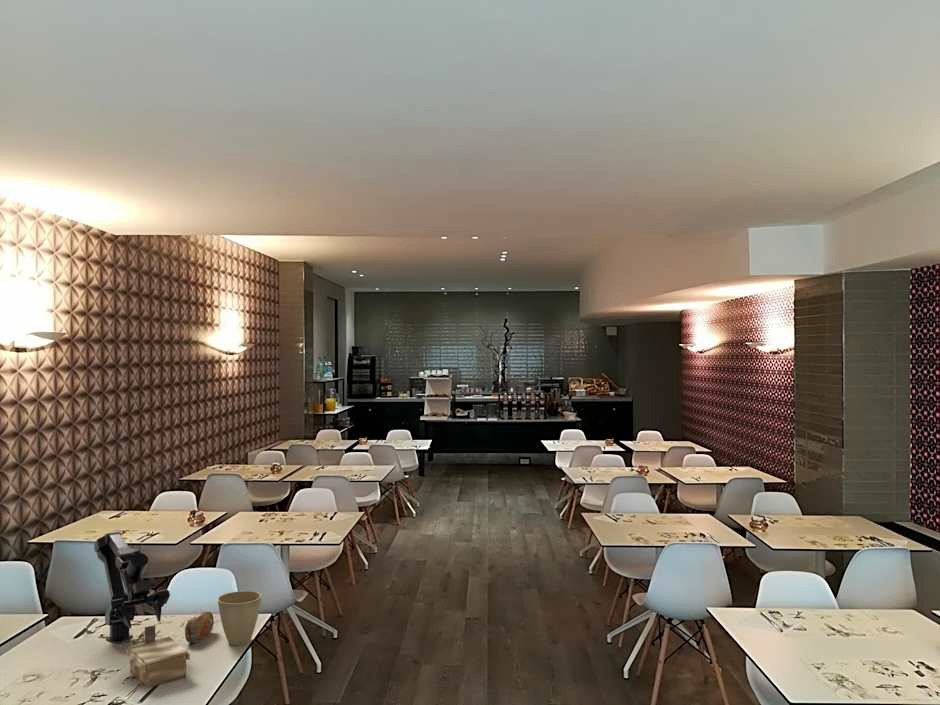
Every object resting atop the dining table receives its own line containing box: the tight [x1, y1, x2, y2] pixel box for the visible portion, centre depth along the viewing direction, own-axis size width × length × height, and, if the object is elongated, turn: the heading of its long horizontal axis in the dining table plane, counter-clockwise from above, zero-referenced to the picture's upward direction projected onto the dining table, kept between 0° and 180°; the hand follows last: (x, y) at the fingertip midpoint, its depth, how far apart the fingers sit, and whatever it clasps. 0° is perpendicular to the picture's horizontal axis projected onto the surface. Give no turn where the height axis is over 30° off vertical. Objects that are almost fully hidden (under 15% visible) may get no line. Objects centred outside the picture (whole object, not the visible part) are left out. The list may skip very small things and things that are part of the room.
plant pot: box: [217, 590, 262, 646], centre depth 263 cm, size 15×15×16 cm
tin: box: [184, 611, 215, 644], centre depth 266 cm, size 15×3×8 cm, turn 168°
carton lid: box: [126, 625, 191, 672], centre depth 236 cm, size 17×14×8 cm
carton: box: [129, 654, 187, 689], centre depth 236 cm, size 16×12×7 cm
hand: (145, 624), depth 245 cm, fingers open, 9 cm apart
